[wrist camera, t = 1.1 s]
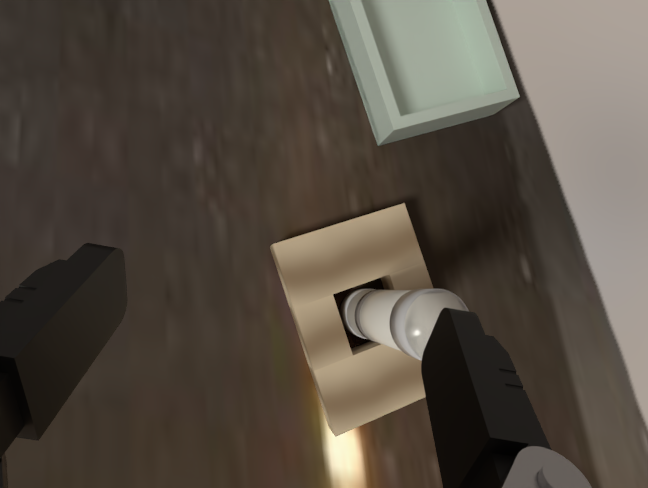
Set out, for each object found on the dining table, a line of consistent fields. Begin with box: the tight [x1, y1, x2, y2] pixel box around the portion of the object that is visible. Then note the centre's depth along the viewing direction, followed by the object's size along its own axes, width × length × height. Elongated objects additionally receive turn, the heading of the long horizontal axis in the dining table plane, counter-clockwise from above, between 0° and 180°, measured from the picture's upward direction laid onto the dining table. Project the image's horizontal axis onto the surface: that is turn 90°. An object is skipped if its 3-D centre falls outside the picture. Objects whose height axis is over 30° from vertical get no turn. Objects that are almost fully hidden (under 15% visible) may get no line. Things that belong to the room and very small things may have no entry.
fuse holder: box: [270, 203, 434, 437], centre depth 36 cm, size 16×12×2 cm
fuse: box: [340, 289, 469, 361], centre depth 30 cm, size 4×4×14 cm
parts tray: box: [329, 0, 520, 146], centre depth 39 cm, size 20×13×4 cm, turn 19°
